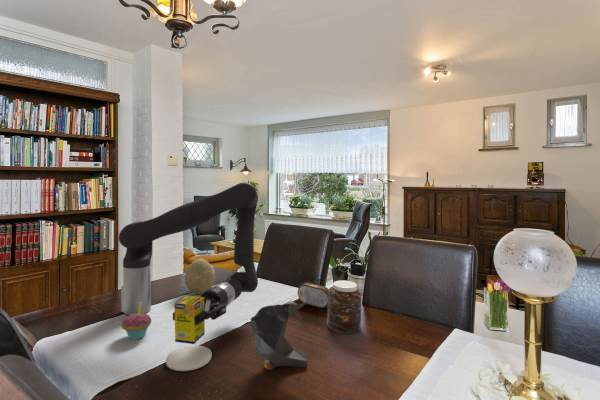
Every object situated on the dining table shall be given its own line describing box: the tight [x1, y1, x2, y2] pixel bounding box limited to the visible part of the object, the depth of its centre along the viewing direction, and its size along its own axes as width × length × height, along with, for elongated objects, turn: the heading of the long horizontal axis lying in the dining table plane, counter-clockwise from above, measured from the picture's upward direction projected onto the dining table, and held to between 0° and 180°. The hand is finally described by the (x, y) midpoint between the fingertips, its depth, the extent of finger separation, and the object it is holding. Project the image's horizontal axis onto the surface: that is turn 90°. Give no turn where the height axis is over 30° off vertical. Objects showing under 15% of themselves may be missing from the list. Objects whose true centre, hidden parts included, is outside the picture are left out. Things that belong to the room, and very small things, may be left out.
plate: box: [165, 344, 213, 372], centre depth 95 cm, size 12×12×1 cm
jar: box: [326, 279, 363, 335], centre depth 118 cm, size 12×12×15 cm
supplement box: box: [174, 295, 206, 345], centre depth 94 cm, size 6×6×11 cm
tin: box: [297, 282, 329, 309], centre depth 137 cm, size 15×3×8 cm, turn 58°
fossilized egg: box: [184, 258, 216, 295], centre depth 148 cm, size 13×13×15 cm
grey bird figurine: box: [249, 300, 308, 371], centre depth 93 cm, size 14×15×18 cm
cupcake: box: [120, 300, 152, 341], centre depth 108 cm, size 9×8×12 cm
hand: (184, 318), depth 92 cm, fingers closed on supplement box, 6 cm apart
